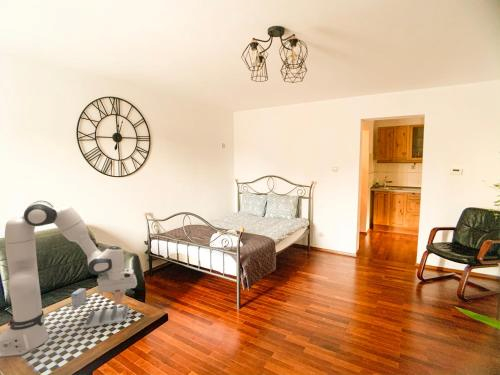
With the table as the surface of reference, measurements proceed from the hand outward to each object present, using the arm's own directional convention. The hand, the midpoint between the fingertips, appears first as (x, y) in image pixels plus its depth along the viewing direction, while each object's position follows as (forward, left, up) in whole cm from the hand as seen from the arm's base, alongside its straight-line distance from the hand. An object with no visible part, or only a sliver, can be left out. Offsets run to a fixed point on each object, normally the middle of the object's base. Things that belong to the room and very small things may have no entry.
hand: (118, 296), depth 155 cm
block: (0, 0, -3) cm, 3 cm away
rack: (-6, 0, -11) cm, 13 cm away
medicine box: (-27, +23, -12) cm, 37 cm away
